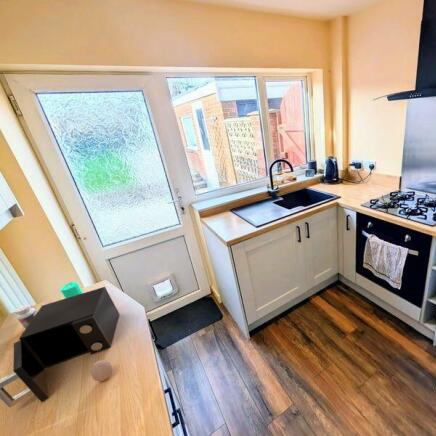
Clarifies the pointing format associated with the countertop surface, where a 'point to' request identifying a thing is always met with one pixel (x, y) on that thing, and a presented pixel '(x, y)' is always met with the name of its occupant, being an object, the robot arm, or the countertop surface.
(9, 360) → the countertop surface
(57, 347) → the microwave
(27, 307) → the pill bottle
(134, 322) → the countertop surface
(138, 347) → the countertop surface
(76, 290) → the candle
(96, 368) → the egg
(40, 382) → the microwave door
